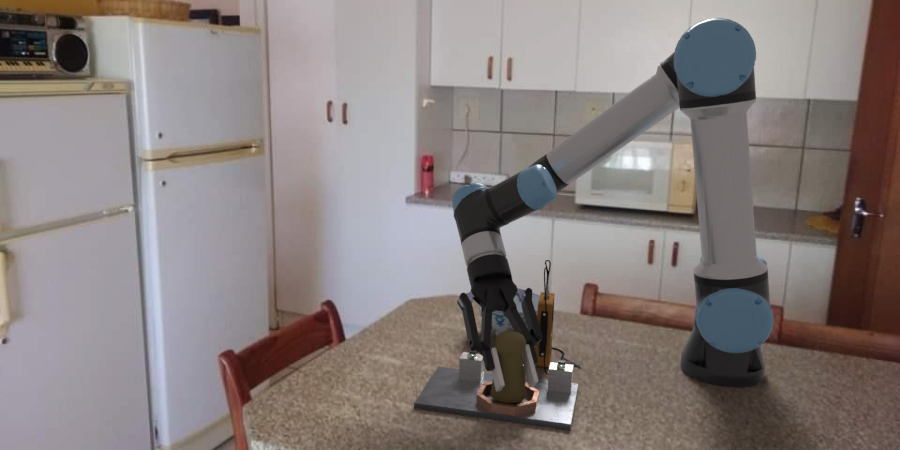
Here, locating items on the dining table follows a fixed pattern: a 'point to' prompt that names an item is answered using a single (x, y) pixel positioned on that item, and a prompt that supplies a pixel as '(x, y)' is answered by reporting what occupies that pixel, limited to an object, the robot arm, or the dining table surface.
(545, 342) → the multimeter
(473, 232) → the robot arm
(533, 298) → the chinaware
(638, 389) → the dining table surface
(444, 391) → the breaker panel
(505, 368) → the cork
